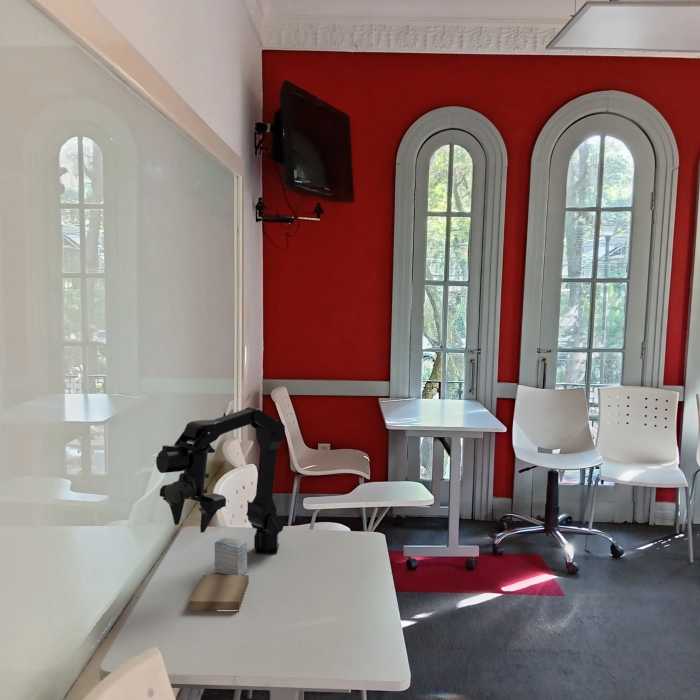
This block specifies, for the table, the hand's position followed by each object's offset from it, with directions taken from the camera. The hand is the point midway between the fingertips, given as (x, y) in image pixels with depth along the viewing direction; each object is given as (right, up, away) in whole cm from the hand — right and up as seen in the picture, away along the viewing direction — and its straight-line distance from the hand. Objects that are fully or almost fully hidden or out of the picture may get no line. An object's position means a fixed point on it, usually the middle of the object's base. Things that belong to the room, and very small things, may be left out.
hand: (189, 528), depth 160 cm
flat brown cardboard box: (+10, -16, -7) cm, 20 cm away
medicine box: (+10, -14, +7) cm, 18 cm away
